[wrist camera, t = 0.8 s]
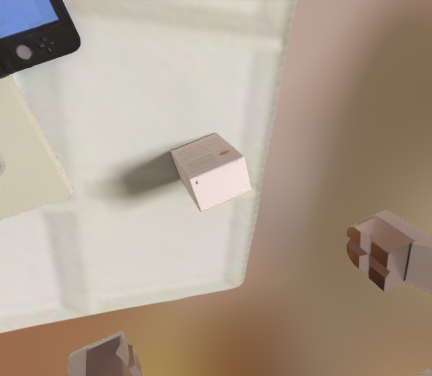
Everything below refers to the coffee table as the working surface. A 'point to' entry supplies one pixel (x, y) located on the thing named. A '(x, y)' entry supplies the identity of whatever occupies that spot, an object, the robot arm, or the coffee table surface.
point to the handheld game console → (34, 33)
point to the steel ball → (2, 165)
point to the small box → (211, 171)
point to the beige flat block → (26, 157)
